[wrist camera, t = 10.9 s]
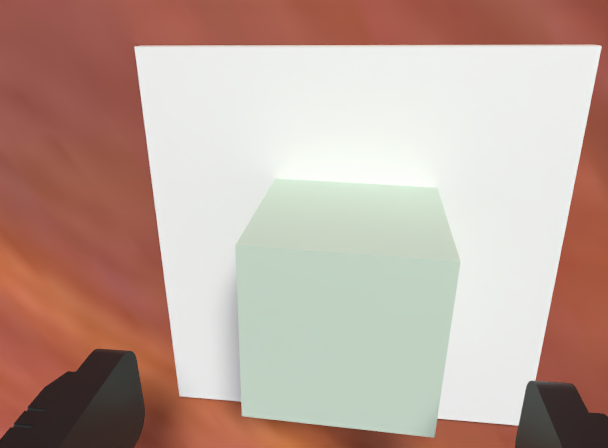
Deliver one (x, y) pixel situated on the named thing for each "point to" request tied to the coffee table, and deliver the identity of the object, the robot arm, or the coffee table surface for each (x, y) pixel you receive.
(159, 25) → the coffee table surface
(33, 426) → the robot arm
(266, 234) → the sage cube
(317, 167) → the mat
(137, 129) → the coffee table surface
